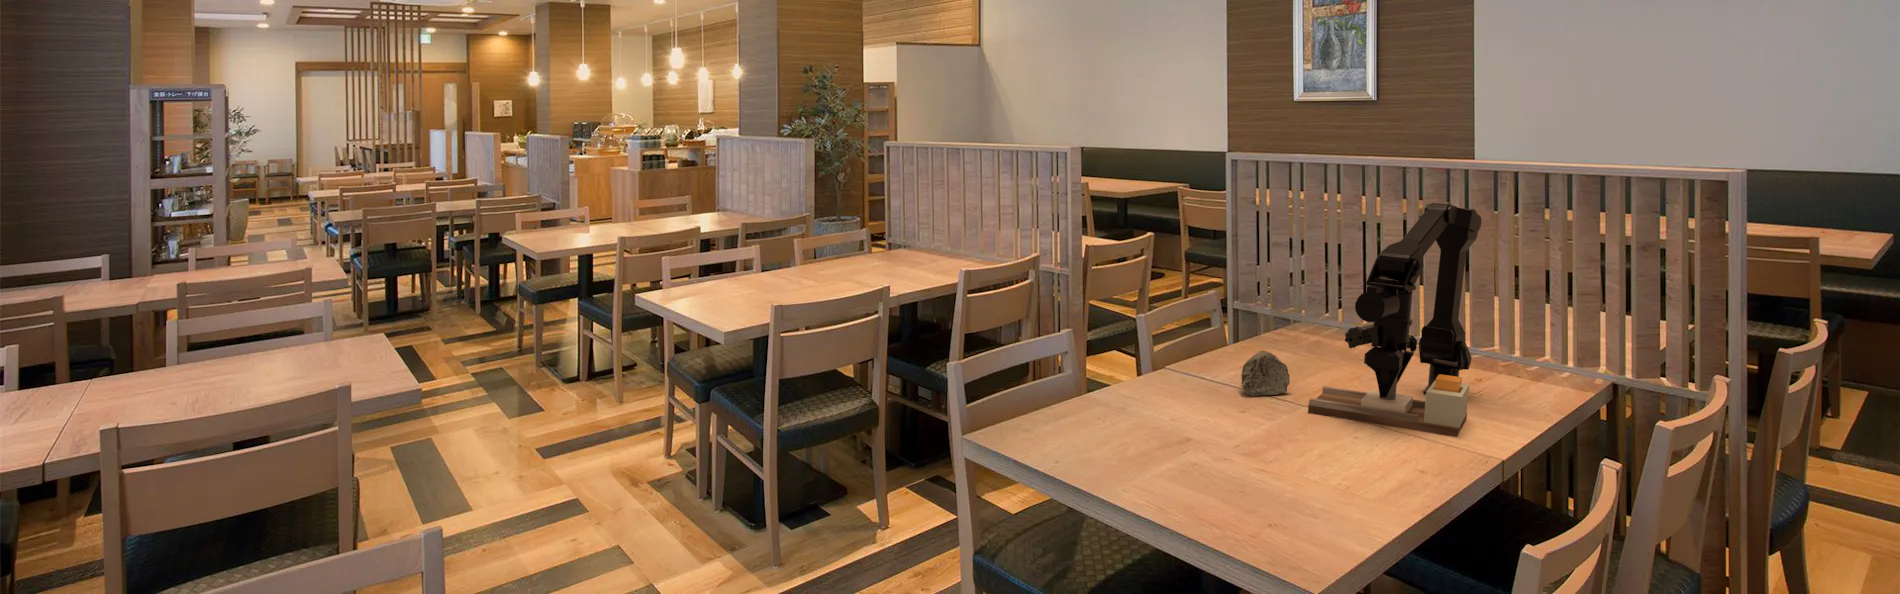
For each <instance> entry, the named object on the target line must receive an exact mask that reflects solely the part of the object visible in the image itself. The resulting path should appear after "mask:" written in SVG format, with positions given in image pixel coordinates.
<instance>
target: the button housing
mask: <svg viewBox="0 0 1900 594" xmlns="http://www.w3.org/2000/svg"><path fill="white" fill-rule="evenodd" d="M1435 381H1436V380H1435ZM1435 381H1434V382H1433V384H1432V385H1431V386H1430V388H1429V389H1428V390H1427V392H1426V394H1425V400H1424V401H1425V412H1424V422H1425V423H1431V424H1437V425H1443V426H1450V427H1456V428H1459V427H1460V425H1461V423H1462V421H1463V420H1464V418H1465V416H1466V414H1467V415H1468V402H1469V393H1470V384H1468V383H1462V386H1461V392H1460V393H1457V392H1450V391H1443V390H1436V389H1435Z"/></svg>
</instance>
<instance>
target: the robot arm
mask: <svg viewBox="0 0 1900 594" xmlns="http://www.w3.org/2000/svg"><path fill="white" fill-rule="evenodd" d="M1481 227H1482V216H1481V215H1480V214H1478V212H1477V211H1476V209H1473V208H1462V207H1458V206H1456V205H1452V204H1451V203H1438V202H1431V203H1427V204H1426V206H1425V208H1424V211H1423V213H1422V214H1421V216H1420V217H1419V218H1418V219H1417V221H1416V222H1415V223H1414V224H1413V225H1412V226H1411V228H1410V229H1409V231H1408V232H1407V233H1406V234H1405V236H1403V238H1402V239H1401V240H1400V241H1397V242H1393V243H1391V244H1389V245H1388V246H1386V247H1385V248H1383V250H1382V251H1380V253H1379V255H1378V256H1377V257H1376V259H1375V260H1374V263H1373V266H1372V268H1371V270H1370V273H1369V274H1368V275H1369V276H1368V278H1367V279H1366V282H1365V284H1366V291H1365V292H1363V293H1361V294H1360V295H1359V296H1358V298H1357V299H1356V301H1355V303H1354V308H1355V309H1354V310H1355V312H1356V315H1357V316H1358V317H1359V319H1361V320H1362V321H1364V322H1367V323H1373V324H1369V325H1364V326H1360V325H1359V326H1355V327H1350V328H1349V329H1348V330H1347V331H1346V332H1345V333H1344V336H1345V339H1344V342H1346V343H1347V344H1348V348H1349V349H1354V348H1355V349H1356V347H1359V346H1364V345H1369V344H1371V348H1370V349H1368V350H1367V351H1366V352H1365V353H1364V359H1363V364H1364V365H1366V366H1367V368H1368V367H1369V368H1371V369H1372V371H1373V372H1374V373H1375V378H1376V381H1377V386H1378V391H1379V393H1380V397H1384V398H1386V397H1387V395H1388V393H1389V392H1390V390H1391V388H1392V386H1393V384H1394V382H1395V380H1396V378H1397V384H1398V383H1399V381H1400V379H1401V378H1402V375H1403V374H1404V373H1405V371H1406V369H1407V367H1408V366H1409V363H1410V362H1411V360H1412V358H1413V356H1414V355H1415V351H1416V350H1417V348H1418V350H1419V362H1420V364H1427V365H1429V371H1428V380H1427V381H1428V383H1427V386H1425V388H1424V390H1423V394H1425V395H1426V392H1427V390H1428V389H1429V388H1430V386H1431V385H1432V384H1433V382H1434V381H1435V380H1436V378H1437V376H1438V375H1439V374H1441V375H1449V376H1456V377H1460V371H1462V370H1465V371H1466V370H1470V366H1471V364H1472V354H1471V351H1470V350H1469V347H1468V345H1467V344H1466V331H1465V330H1464V328H1463V326H1462V324H1461V322H1460V320H1459V315H1460V309H1461V308H1460V307H1461V299H1462V291H1463V283H1464V273H1465V267H1466V266H1465V265H1466V259H1467V258H1466V256H1467V251H1468V250H1469V249H1470V247H1472V246H1473V244H1474V243H1475V242H1476V240H1477V238H1478V234H1479V231H1480V230H1481ZM1435 242H1436V243H1437V246H1438V248H1439V250H1440V255H1439V262H1438V271H1437V280H1436V289H1435V297H1434V303H1433V306H1434V307H1433V315H1432V318H1431V320H1430V321H1429V322H1428V323H1427V324H1426V325H1423V327H1422V329H1421V335H1420V336H1421V337H1420V339H1419V342H1418V340H1417V338H1416V337H1415V336H1414V335H1412V334H1410V327H1411V326H1412V324H1413V319H1412V318H1411V316H1412V315H1411V313H1412V303H1413V302H1412V301H1413V292H1414V291H1416V290H1417V286H1416V283H1417V281H1418V278H1419V276H1420V275H1421V273H1422V272H1423V268H1424V262H1423V258H1424V256H1425V255H1426V254H1427V252H1428V251H1429V249H1430V248H1431V247H1432V245H1434V243H1435ZM1417 345H1418V347H1417ZM1407 349H1410V351H1407Z"/></svg>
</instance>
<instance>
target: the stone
mask: <svg viewBox="0 0 1900 594" xmlns="http://www.w3.org/2000/svg"><path fill="white" fill-rule="evenodd" d="M1240 376H1241V385H1240V386H1241V388H1242V389H1243V391H1244V392H1245V393H1246V394H1247V395H1248V396H1251V397H1257V396H1269V395H1280V394H1282V393H1286V392H1287V391H1288V386H1289V385H1290V382H1291V380H1290V373H1289V369H1288V367H1287V365H1286V364H1285V363H1284V362H1282V361H1281V359H1280V358H1279V357H1277V356H1276V355H1275V354H1272V353H1271V352H1269V351H1267V350H1259V351H1258V352H1257V351H1256V353H1255V354H1253V355H1252V356H1251V357H1250V358H1249V359H1247V360H1246V362H1245V363H1244V365H1243V367H1242V371H1241V375H1240Z"/></svg>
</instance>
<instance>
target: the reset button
mask: <svg viewBox="0 0 1900 594" xmlns="http://www.w3.org/2000/svg"><path fill="white" fill-rule="evenodd" d="M1462 384H1463V377H1462V376H1459V377H1456V376H1449V375H1441V374H1439V375H1438V376H1437V378H1436V381H1435V389H1436V390H1443V391H1450V392H1457V393H1460V392H1461V386H1462Z"/></svg>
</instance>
